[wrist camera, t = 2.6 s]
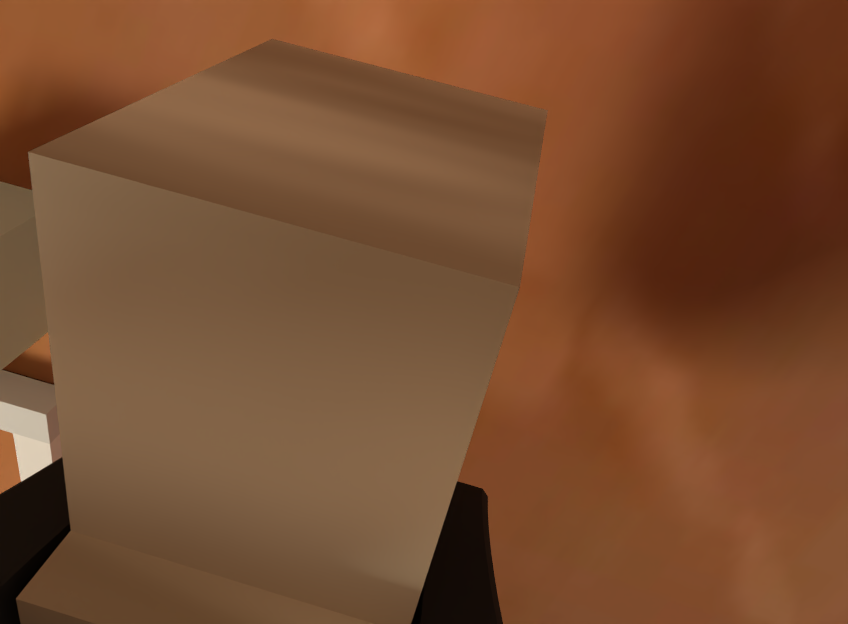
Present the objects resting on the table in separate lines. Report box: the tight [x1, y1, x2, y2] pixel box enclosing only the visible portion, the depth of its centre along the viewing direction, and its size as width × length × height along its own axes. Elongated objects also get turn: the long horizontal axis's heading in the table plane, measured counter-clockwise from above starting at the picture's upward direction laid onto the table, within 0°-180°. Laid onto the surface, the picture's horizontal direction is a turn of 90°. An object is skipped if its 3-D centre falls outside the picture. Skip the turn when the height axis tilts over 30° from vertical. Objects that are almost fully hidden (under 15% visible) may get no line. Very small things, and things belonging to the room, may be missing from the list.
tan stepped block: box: [16, 39, 548, 624], centre depth 9 cm, size 11×4×5 cm, turn 168°
